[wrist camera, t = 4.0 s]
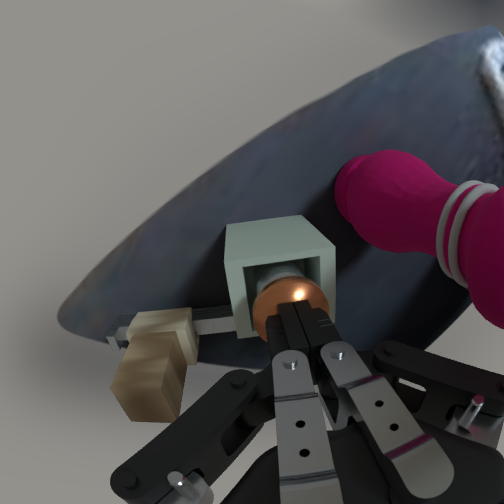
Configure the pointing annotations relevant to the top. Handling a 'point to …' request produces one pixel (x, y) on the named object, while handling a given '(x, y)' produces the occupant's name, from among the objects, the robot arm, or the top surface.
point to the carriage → (156, 365)
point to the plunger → (282, 291)
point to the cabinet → (275, 250)
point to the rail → (202, 320)
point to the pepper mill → (429, 220)
